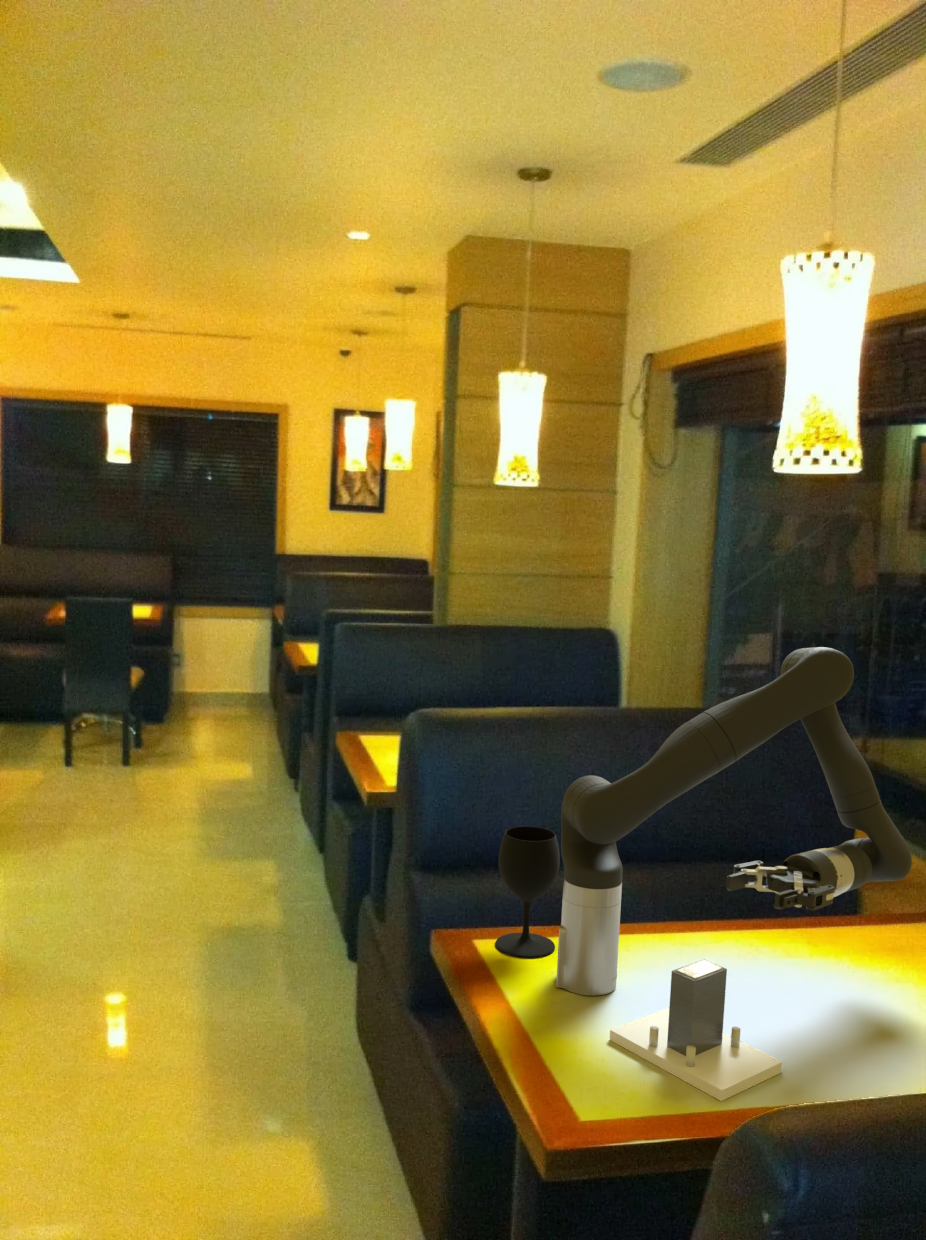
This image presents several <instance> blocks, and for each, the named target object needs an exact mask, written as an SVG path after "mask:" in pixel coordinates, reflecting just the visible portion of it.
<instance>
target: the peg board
mask: <svg viewBox="0 0 926 1240" xmlns="http://www.w3.org/2000/svg"><path fill="white" fill-rule="evenodd" d="M668 1023H669V1007H666V1008H664V1009H662V1010H661V1009H660V1010H658V1011H656V1012H653V1013H651V1014H648V1015H645V1016H643V1017H640V1018H637V1019H635V1020H633V1021H629V1022H626V1023H624V1024H621V1025H619V1026H616V1027H613V1028H611V1029H609V1040H610V1041H611V1042H613V1043H614V1044H617V1045H619V1046H620V1047H622V1048H624V1049H626V1050H627V1051H629V1052H631V1053H633V1054H635V1055H636V1056H638V1057H640V1058H642V1059H643V1060H645V1061H648V1062H650V1063H651V1064H653V1065H655V1066H656V1067H659V1068H660V1069H662V1070H663V1071H666V1072H668V1073H669V1074H671V1075H672V1076H675V1077H677V1078H678V1079H680V1080H682V1081H684V1082H686V1083H687V1084H689V1085H691V1086H693V1087H695V1088H696V1089H698V1090H700V1091H701V1092H704V1093H706V1094H707V1095H709V1096H711V1097H713V1098H714V1099H716V1100H718V1101H720V1102H722V1101H725V1100H727V1099H729V1098H730V1097H734V1096H735V1095H737V1094H739V1093H742V1092H743V1091H746V1090H748V1089H750V1088H753V1087H754V1086H756V1085H758V1084H760V1083H762V1082H765V1081H766V1080H769V1079H771V1078H773V1077H775V1076H777V1075H779V1074H781V1073H783V1061H781V1060H779V1059H777V1058H775V1057H773V1056H771V1055H769V1054H767V1053H765V1052H763V1051H761V1050H760V1049H757V1048H755V1047H753V1046H751V1045H749V1044H746V1043H744V1042H743V1041H741V1028H740V1027H739V1026H732V1027H731V1031H730V1032H731V1033H730V1034H731V1035H729V1034H727V1033H725V1032H723V1034H722V1044H721V1045H719V1046H716V1047H714V1048H712V1049H710V1050H707V1051H705V1052H703V1053H700V1054H698V1055H696V1056H695V1053H696V1047H695V1046H692V1045H688V1046H687V1051H686V1056H684V1055H682V1054H680V1053H679V1052H677V1051H675V1050H673V1049H671V1048H669V1047H667V1039H668Z"/></svg>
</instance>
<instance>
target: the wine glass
mask: <svg viewBox="0 0 926 1240" xmlns="http://www.w3.org/2000/svg"><path fill="white" fill-rule="evenodd" d="M559 847H560V846H559V842H558V838H557V835H556V833H555V832H554V831H552V830H550V829H548V828H544V827H540V826H539V827H538V826H530V825H529V826H528V825H525V826H523V825H520V826H514V827H509V828H508V829H506V830H505V831H504V834H503V837H502V839H501V843H500V847H499V853H498V867H499V868H498V869H499V873H500V877H501V879H502V881H503V883H504V885H505V886H506V888H507V889H508V890H509V891H510V892H511V893H512V894H513V895H515V897H517V898H518V899H519V900H520V901H521V902H522V905H523V925H522V931H521V932H510V933H506V934H503V935H501V936H499V937H497V939H496V940H495V947H496V949H497V951H499V952H500V953H503V954H504V955H507V956H511V957H514V958H520V959H539V958H544V957H547V956H550V955H551V954H552V953H554V952H555V949H556V944H555V942H554V941H553V940H552V939H551V938H548V937H546V936H544V935H541V934H537V933H534V932H533V933H532V932H530V913H531V907H532V903H533V902H534V901H535V900H537V899H538V898H540V897H541V896H543V895H545V894H546V892H548V891H549V890H550V888H552V886H553V885H554V884H555V882H556V879H557V877H558V874H559V869H560V865H561V862H560V861H561V859H560V857H561V853H560V848H559Z"/></svg>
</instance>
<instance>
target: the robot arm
mask: <svg viewBox="0 0 926 1240" xmlns="http://www.w3.org/2000/svg"><path fill="white" fill-rule="evenodd" d="M854 679H855V670H854V665H853V663H852V661H851V659H850V658H849V656H847V654H845V653H844V652H842V651H840V650H837V649H835V648H832V647H827V646H826V647H824V646H818V647H815V646H814V647H803V648H797V649H795V650H793V651H792V652H790V653H789V654H788V655H787V656H786V657H785V658H784V660H783V662H782V664H781V667H780V675H779V677H776V679H773V681H771V682H769V683H767V684H766V685H764V686H761V687H759V688H757V689H755V690H753V691H749V692H747V693H744V694H741V695H738V696H735V697H733V698H730V699H728V700H726V701H723V702H720V703H718V704H716V705H714V706H712V707H710V708H708V709H706V710H704V711H702V712H701V713H700V714H698V715H696V716H695V717H693V718H691V719H690V720H688V721H686V722H684V723H683V724H682V725H680V726H679V727H677V729H675V730H674V731H673V732H672V733H671V734H670V735H669V736H668V737H667V738H666V740H665V741H664V742H663V743H662V744H661V746H660V748H659V749H658V750H657V751H656V752H655V754H653V756H652V757H651V758H650V759H649V760H648V761H646V763H645V764H643V765H642V766H640V767H639V768H637V769H636V770H634V771H632V772H631V773H629V774H628V775H626V776H624V777H621V778H619V779H617V780H616V781H614V782H612V783H611V782H610V781H608V780H607V779H605V778H604V777H601V776H598V775H589V774H588V775H584V776H581V777H578V778H577V779H576V780H574V781H573V782H572V783H571V784H569V786H568V787H567V789H566V790H565V793H564V795H563V796H564V797H563V799H562V805H561V818H560V819H561V820H560V821H561V822H560V828H561V830H560V857H561V861H562V864H563V880H562V886H563V887H562V900H561V902H562V903H561V904H562V905H561V921H560V927H559V930H558V942H557V943H558V945H557V963H556V964H557V965H556V985H555V986H556V988H561V989H565V990H567V991H569V992H571V993H574V994H578V995H581V996H582V995H584V996H603V995H606V994H610V993H612V992H613V991H615V989H616V987H617V978H618V960H619V959H618V958H619V942H620V924H621V907H622V906H621V905H622V890H623V889H622V888H623V873H624V872H623V871H624V869H623V864H622V861H621V859H620V855H619V853H618V848H617V842H618V841H619V840H621V839H622V838H624V837H625V836H627V835H628V834H629V833H631V832H632V831H634V830H635V829H636V828H637V827H639V825H641V824H642V823H643V822H644V821H646V820H647V819H649V818H650V817H651V816H652V815H653V814H655V813H656V812H658V811H659V810H660V809H662V808H663V807H665V806H666V805H667V804H668V803H670V802H671V801H674V800H675V799H677V798H678V797H680V796H682V795H683V794H685V793H686V792H688V791H690V790H691V789H693V788H694V787H697V785H699V784H701V783H702V782H704V781H706V780H708V779H709V778H711V777H713V776H715V775H716V774H718V773H719V772H721V771H722V770H725V769H726V768H728V767H730V766H731V765H733V764H734V763H735V762H737V761H739V760H740V759H741V758H743V757H744V756H745V755H747V754H749V753H750V752H752V751H753V750H755V749H757V748H758V747H760V746H761V745H763V744H764V743H766V742H767V741H768V740H770V739H771V738H773V737H774V736H776V735H777V734H778V733H779V732H780V731H783V730H784V729H785V728H787V727H789V726H790V725H792V724H793V723H795V722H797V721H799V720H800V722H801V724H802V727H803V728H804V729H805V731H806V734H807V736H808V739H809V740H810V742H811V745H812V747H813V750H814V751H815V754H816V756H817V758H818V761H819V764H820V766H821V769H822V772H823V774H824V777H825V781H826V782H827V787H828V788H829V791H830V794H831V797H832V800H833V803H834V807H835V808H836V812H837V815H838V817H839V820H840V822H841V824H842V825H843V826H844V827H846V828H847V829H853V830H858V831H860V832H863V833H865V835H867V837H859V838H854V839H850V840H849V839H848V840H846V841H844V842H843V843H841V844H839V845H836V846H835V845H834V846H832V847H828V848H827V847H823V848H816V849H812V850H807V851H803V852H800V853H795V854H792V855H789V856H788V857H787V858H786V859H785V860H784V861H782V863H781V865H775V866H774V867H772V866H763V865H764V862H763V861H761V860H753V861H750V862H748V861H747V862H744V863H737V864H734V865H733V873H732V874H729V875H727V876H726V881H725V888H726V890H727V891H729V892H733V891H737V890H740V889H745V888H754V889H756V891H758V892H766V893H767V892H768V893H775V895H774V902H773V903H774V904H773V907H774V909H777V910H779V911H780V910H783V909H786V908H791V907H795V908H802V906H805V907H806V908H805V909H806V910H808V911H812V912H813V911H816V910H819V909H823V908H824V907H827V906H830V905H833V902H834V898H835V897H838V896H840V895H842V894H844V893H847V892H850V891H853V890H856V889H859V888H861V887H863V886H865V884H867V883H869V882H895V881H902V880H904V879H905V878H907V876H908V875H909V874H910V873H911V869H912V863H913V861H912V854H911V851H910V847H909V845H908V843H907V841H906V839H905V838H904V836H903V835H902V834H901V832H900V830H899V829H898V828H897V826H896V825H895V823H894V822H893V820H892V818H891V817H890V815H889V814H888V813H887V810H885V808H884V806H883V803H882V800H881V797H880V794H879V791H878V789H877V786H876V783H875V780H874V777H873V774H872V772H871V770H870V768H869V765H868V764H867V761H866V760H865V758H864V756H863V755H862V754H861V752H860V750H859V749H858V747H857V746H856V744H855V743H854V741H853V739H852V738H851V736H850V734H849V733H848V731H847V729H846V728H845V725H844V724H843V721H842V719H841V716H840V714H839V711H838V708H837V704H836V702H838V701H840V700H841V699H843V698H844V697H845V696H846V695H847V693H848V692H849V691H850V689H851V687H852V686H853V685H852V684H853V682H854ZM763 877H766V879H765V884H766V885H763Z"/></svg>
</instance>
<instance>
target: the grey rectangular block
mask: <svg viewBox="0 0 926 1240" xmlns="http://www.w3.org/2000/svg"><path fill="white" fill-rule="evenodd" d="M727 971H728V969H727V968H725V967H723V966H720V965H718V964H716V963H713V962H711V961H709V960H707V959H701V960H698V961H696V962H693V963H690V964H686V965H685V966H682V967H679V968H676V969H673V970H671V974H670V975H671V978H670V991H669V993H670V994H669V1007H668V1008H669V1023H668V1039H667V1047H669V1048H671V1049H673V1050H675V1051H677V1052H679V1053H680V1054H682V1055H684V1056H686V1051H687V1046H688V1045H692V1046H695V1047H696V1053H695V1056H696V1055H698V1054H700V1053H703V1052H705V1051H707V1050H710V1049H712V1048H714V1047H716V1046H719V1045H721V1044H722V1034H723V1033H724V1031H723V1030H724V1018H725V1016H724V1015H725V1003H726V1002H725V1001H726V988H727V986H726V985H727Z"/></svg>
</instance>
